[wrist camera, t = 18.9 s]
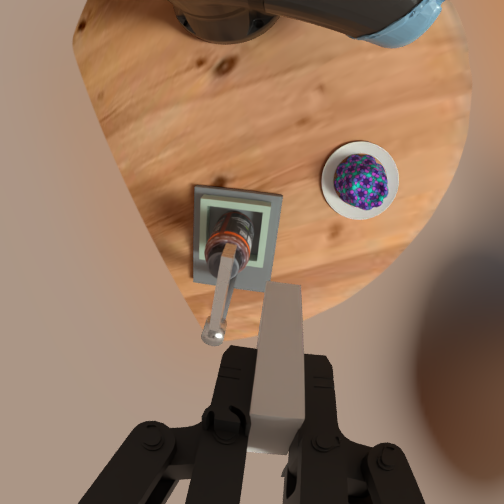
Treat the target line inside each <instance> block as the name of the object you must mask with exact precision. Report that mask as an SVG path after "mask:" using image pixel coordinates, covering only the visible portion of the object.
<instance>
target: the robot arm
mask: <svg viewBox="0 0 504 504" xmlns="http://www.w3.org/2000/svg"><path fill="white" fill-rule="evenodd" d="M168 1H169V2H171V3H172V4H173V6H174V11H175V14H176V17H177V19H178V20H179V22H180V23H181V25H182V26H183V27H184V28H185V29H186V30H187V31H188V32H190V33H191V34H193V35H194V36H196V37H198V38H200V39H202V40H204V41H207V42H210V43H215V44H237V43H242V42H246V41H249V40H252V39H254V38H256V37H258V36H260V35H262V34H263V33H265V32H266V31H267V30H268V29H270V28H271V27H272V26H273V25H274V24H275V22H276V21H277V20H278V18H279V17H280V16H284V17H288V18H292V19H296V20H300V21H304V22H308V23H311V24H315V25H318V26H321V27H325V28H328V29H331V30H334V31H337V32H340V33H343V34H346V35H347V36H348V37H350V38H352V39H357V40H364V41H367V42H370V43H373V44H375V45H378V46H381V47H384V48H399V47H403V46H406V45H408V44H410V43H412V42H413V41H415V40H416V39H418V38H419V37H420V36H421V35H422V34H423V33H424V32H426V31H427V29H428V28H429V27H430V26H431V25H432V24H433V23H434V21H435V20H436V18H437V17H438V15H439V14H440V12H441V10H442V8H441V3H442V2H444V1H445V0H168ZM303 347H304V345H303V319H302V298H301V285H295V284H287V283H279V282H272V281H266V287H265V294H264V300H263V307H262V313H261V320H260V326H259V334H258V342H257V349H253V348H247V347H239V346H233V345H231V346H230V347H229V348H228V349H227V350H226V351H225V352H224V354H223V356H222V360H221V364H220V368H219V372H218V377H217V381H216V385H215V389H214V394H213V398H212V402H211V405H210V406H209V407H208V408H206V409H205V411H204V413H203V415H202V422H200V423H198V424H196V425H194V426H190V427H181V428H169V427H168V426H166V425H165V424H163V423H160V422H157V421H146V422H143V423H140V424H138V425H137V426H136V427H135V428H134V429H133V430H132V431H131V433H130V434H129V435H128V437H127V438H126V440H125V441H124V442H123V444H122V445H121V446H120V448H119V449H118V451H117V452H116V453H115V454H114V456H113V457H112V458H111V460H110V461H109V462H108V464H107V465H106V466H105V468H104V469H103V471H102V472H101V473H100V475H99V476H98V477H97V479H96V480H95V481H94V483H93V484H92V485H91V487H90V488H89V489H88V491H87V492H86V493H85V495H84V496H83V497H82V499H81V500H80V501H79V503H78V504H165V503H166V502H167V500H168V498H169V497H170V495H171V493H172V492H173V490H174V488H175V487H176V485H177V483H178V482H179V480H181V479H191V481H190V485H189V489H188V494H187V498H186V502H185V504H239V503H240V496H241V489H242V482H243V475H244V468H245V460H246V452H247V451H249V452H258V453H267V454H278V455H287V453H288V451H289V457H288V463H287V465H286V467H285V468H284V470H283V472H282V475H281V477H284V476H285V478H284V492H283V493H284V494H283V504H425V502H424V499H423V497H422V494H421V492H420V489H419V487H418V485H417V482H416V480H415V477H414V475H413V473H412V470H411V468H410V466H409V463H408V461H407V459H406V457H405V454H404V453H403V451H402V450H401V448H399V447H398V446H396V445H395V444H391V443H380V444H378V445H376V446H374V447H369V446H365V445H362V444H358V443H355V442H352V441H350V440H349V439H347V438H346V437H345V436H344V435H343V434H342V433H341V431H340V429H339V427H338V422H337V411H336V399H335V390H334V381H333V369H332V365H331V364H330V362H329V360H328V359H327V357H326V356H323V355H312V354H304V348H303Z"/></svg>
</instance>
